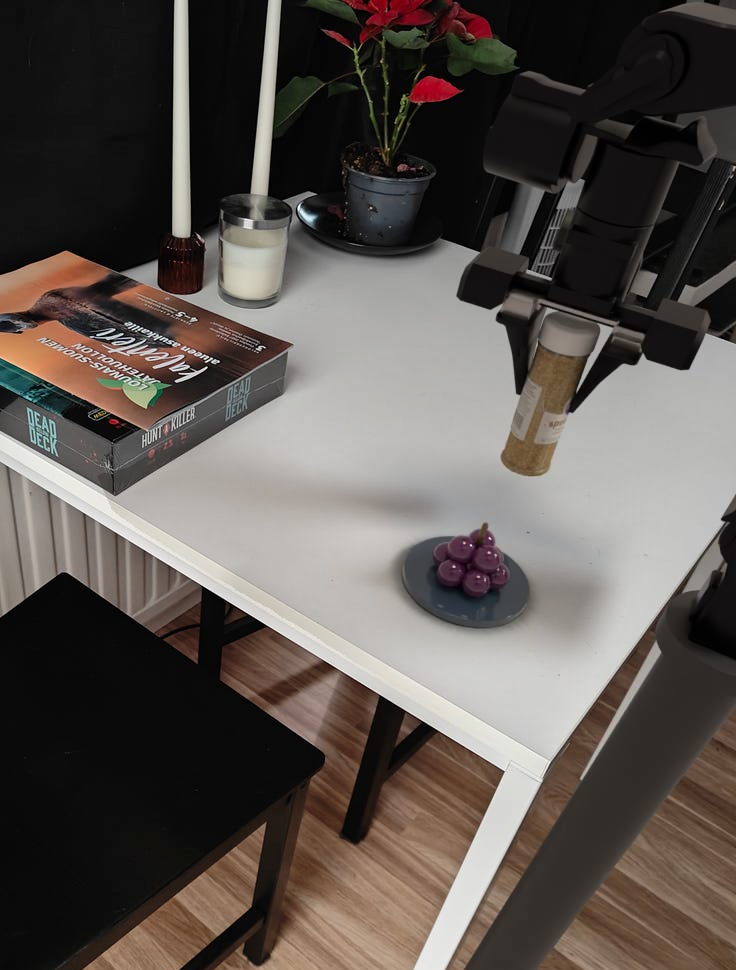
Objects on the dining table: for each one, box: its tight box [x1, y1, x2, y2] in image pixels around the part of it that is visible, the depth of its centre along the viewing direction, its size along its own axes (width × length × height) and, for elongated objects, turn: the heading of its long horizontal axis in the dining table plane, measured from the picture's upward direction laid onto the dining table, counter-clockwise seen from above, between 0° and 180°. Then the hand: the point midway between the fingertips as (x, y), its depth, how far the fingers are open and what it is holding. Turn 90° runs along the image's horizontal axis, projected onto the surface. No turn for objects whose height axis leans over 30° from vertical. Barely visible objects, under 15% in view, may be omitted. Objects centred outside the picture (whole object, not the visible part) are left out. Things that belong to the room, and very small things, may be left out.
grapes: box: [401, 521, 531, 628], centre depth 76 cm, size 11×11×7 cm
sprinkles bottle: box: [500, 310, 601, 477], centre depth 76 cm, size 5×5×14 cm
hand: (545, 401), depth 77 cm, fingers closed on sprinkles bottle, 4 cm apart
